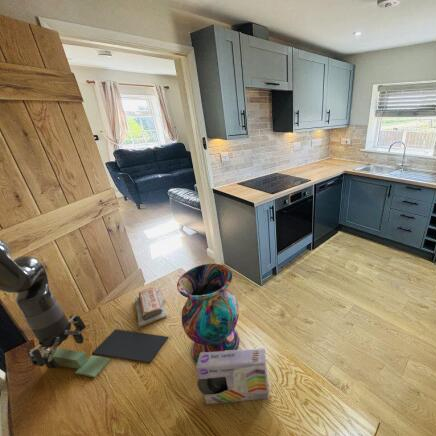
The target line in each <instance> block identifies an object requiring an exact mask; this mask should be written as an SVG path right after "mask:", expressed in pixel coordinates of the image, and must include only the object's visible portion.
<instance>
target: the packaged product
mask: <svg viewBox="0 0 436 436" xmlns="http://www.w3.org/2000/svg"><path fill="white" fill-rule="evenodd" d="M163 300H164V299H163V296H162V293H161V290H160V289H159V290H157V289H156V288H155V287H149V288H146V289H143V290H140V291H138V296H137V297H135V298H134V301H135V309H136V315H137V320H138V323H137V324H138V326H139V327H140V328H142V327H144V326H147V325H150V324H151V323H153V322H156V321H159V320H162V319H164V318H167V317H168V315H167V311H166V307H165V303H164V301H163Z"/></svg>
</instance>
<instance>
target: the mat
mask: <svg viewBox="0 0 436 436" xmlns="http://www.w3.org/2000/svg"><path fill="white" fill-rule="evenodd" d="M168 339H169V336H165V335H159V334H151V333H143V332H137V331H129V330H123V329H116V328H115V329H114V330H113V331H112V332H111V333H110V334H109V335H108V336H107V337H106V338H105V339H104V340H103V341H102V342H101V343H100V344H99V345H98V346H97V347H96V348H95V349H94V350H93V351H92V352H91V354H92V355H97V356H103V357H109V358H118V359H123V360H128V361H129V360H130V361H136V362H141V363H149V364H151V362H152V361H153V360H154V359H155V357H156V355H158V352H159V351H160V350H161V349H162V347H163V346H164V344H165V343H166V342H167V340H168Z"/></svg>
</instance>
